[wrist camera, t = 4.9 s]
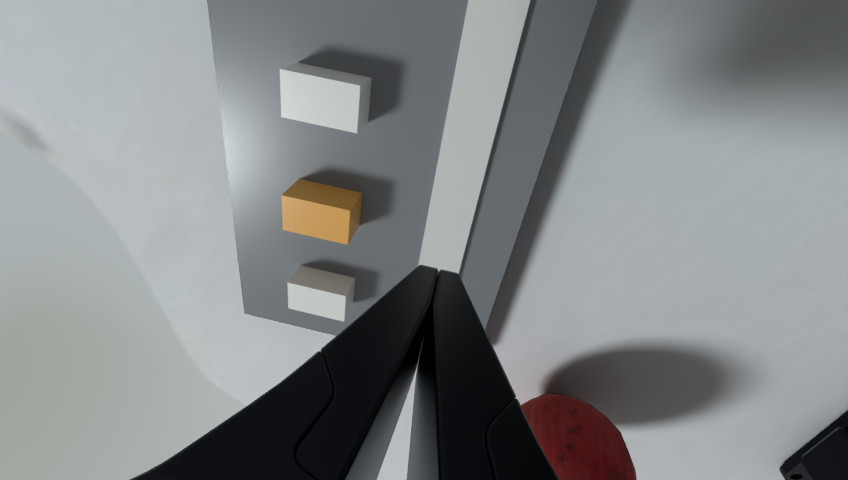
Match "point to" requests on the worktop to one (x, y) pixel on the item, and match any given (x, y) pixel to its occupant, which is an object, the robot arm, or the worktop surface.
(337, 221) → the block
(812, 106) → the worktop surface
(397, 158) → the panel
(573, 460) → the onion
